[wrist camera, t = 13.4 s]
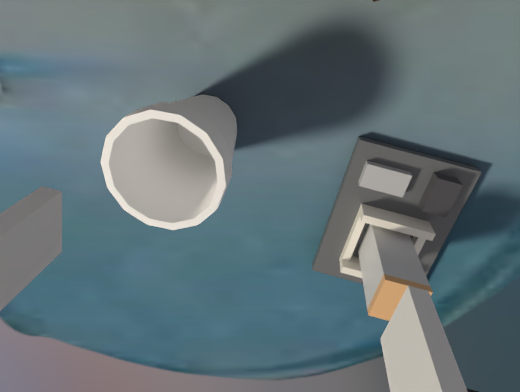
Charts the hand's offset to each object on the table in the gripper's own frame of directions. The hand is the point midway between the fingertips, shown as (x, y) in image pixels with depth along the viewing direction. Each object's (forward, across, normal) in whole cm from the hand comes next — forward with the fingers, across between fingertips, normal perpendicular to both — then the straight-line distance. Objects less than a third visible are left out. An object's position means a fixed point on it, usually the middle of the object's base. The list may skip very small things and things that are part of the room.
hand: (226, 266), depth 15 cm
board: (+27, +14, -9) cm, 31 cm away
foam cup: (+27, -7, -4) cm, 28 cm away
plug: (+26, +14, -11) cm, 31 cm away
